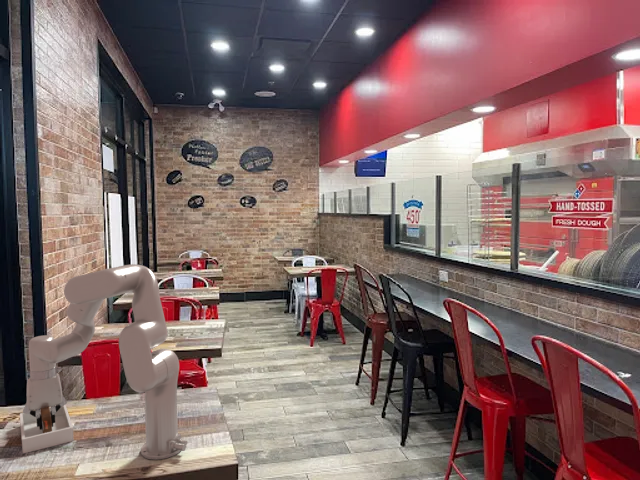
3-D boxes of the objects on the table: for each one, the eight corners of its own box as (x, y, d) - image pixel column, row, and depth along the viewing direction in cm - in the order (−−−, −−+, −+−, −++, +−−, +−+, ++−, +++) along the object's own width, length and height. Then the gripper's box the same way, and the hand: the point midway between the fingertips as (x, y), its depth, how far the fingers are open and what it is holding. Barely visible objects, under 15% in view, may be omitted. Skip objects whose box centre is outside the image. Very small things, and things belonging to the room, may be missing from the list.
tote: (20, 426, 162) (19, 413, 162) (65, 415, 170) (65, 403, 170) (22, 453, 144) (22, 439, 144) (73, 440, 152) (73, 427, 152)
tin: (53, 436, 152) (52, 411, 151) (41, 439, 150) (41, 413, 149) (49, 419, 164) (48, 396, 164) (38, 421, 162) (38, 397, 162)
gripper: (69, 365, 163) (71, 416, 165) (14, 375, 154) (17, 429, 156) (72, 371, 157) (74, 424, 158) (14, 382, 148) (18, 438, 149)
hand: (46, 426), depth 157 cm, fingers closed on tin, 2 cm apart
